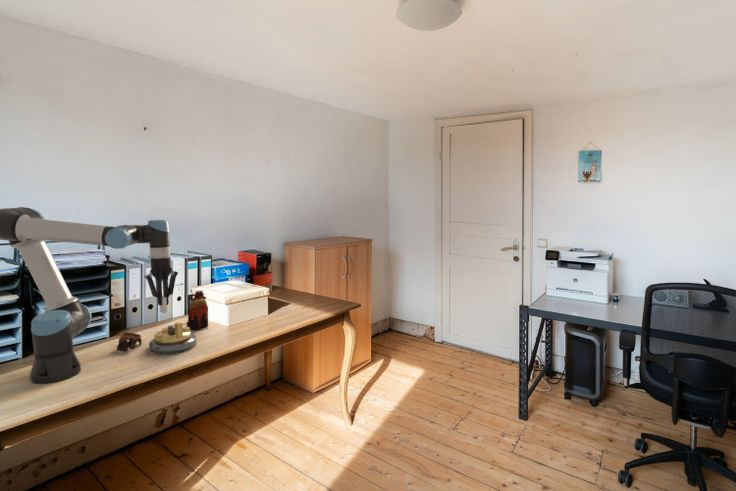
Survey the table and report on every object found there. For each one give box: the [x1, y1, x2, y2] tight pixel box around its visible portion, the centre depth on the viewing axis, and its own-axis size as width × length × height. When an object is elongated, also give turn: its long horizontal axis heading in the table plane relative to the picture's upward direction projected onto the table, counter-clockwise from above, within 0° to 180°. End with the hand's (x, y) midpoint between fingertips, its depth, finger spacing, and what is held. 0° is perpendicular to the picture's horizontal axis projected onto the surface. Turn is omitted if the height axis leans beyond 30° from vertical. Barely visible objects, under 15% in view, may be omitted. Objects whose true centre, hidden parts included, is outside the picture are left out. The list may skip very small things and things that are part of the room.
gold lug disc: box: [153, 321, 192, 345], centre depth 182 cm, size 15×15×9 cm
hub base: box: [149, 324, 197, 355], centre depth 182 cm, size 19×19×9 cm
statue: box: [186, 290, 209, 332], centre depth 206 cm, size 12×8×20 cm, turn 124°
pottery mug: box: [116, 332, 143, 353], centre depth 179 cm, size 12×10×8 cm
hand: (163, 312), depth 172 cm, fingers closed
